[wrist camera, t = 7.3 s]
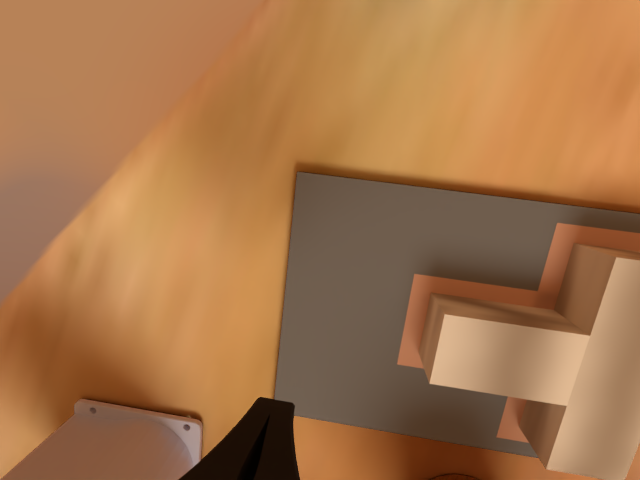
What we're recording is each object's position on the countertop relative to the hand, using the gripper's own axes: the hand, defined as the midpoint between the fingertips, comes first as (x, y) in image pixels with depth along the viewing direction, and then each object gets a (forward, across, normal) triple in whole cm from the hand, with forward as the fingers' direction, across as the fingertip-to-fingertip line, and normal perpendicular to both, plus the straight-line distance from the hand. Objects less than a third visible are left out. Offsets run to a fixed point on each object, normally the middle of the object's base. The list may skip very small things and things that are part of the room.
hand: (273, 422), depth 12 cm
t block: (+9, -13, -1) cm, 15 cm away
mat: (+9, -9, -1) cm, 13 cm away
